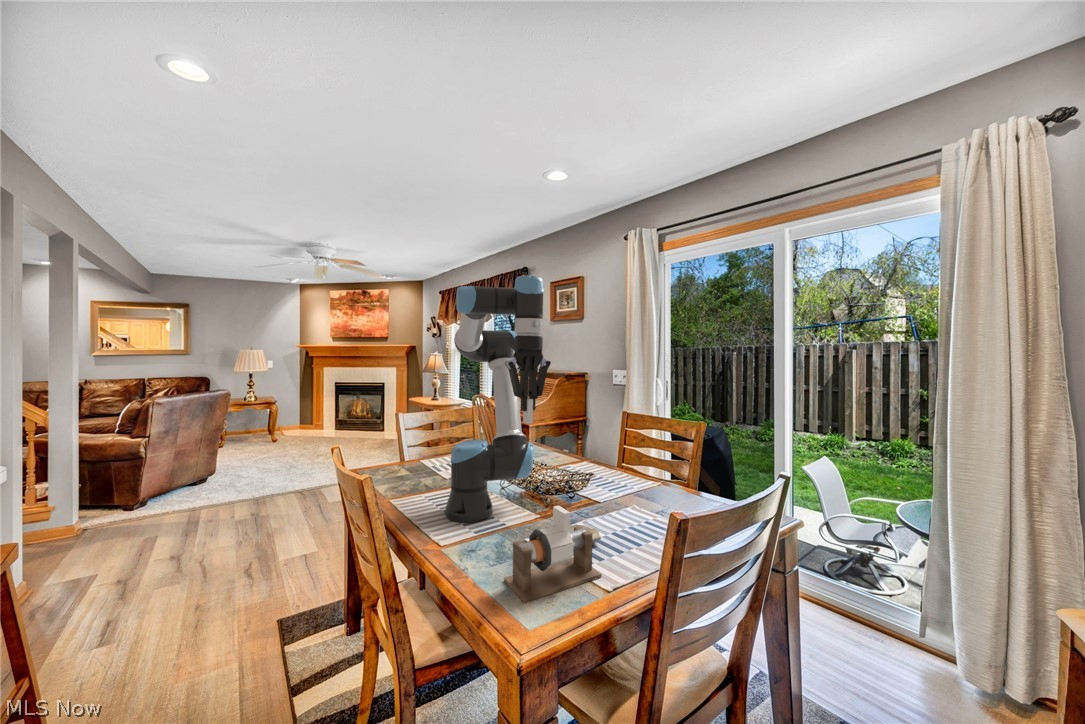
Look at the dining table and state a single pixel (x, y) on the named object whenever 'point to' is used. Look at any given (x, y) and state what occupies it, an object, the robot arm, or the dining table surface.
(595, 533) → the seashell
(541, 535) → the ring
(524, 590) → the stand
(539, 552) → the band
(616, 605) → the dining table surface
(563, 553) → the sleeve
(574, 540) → the pipe
